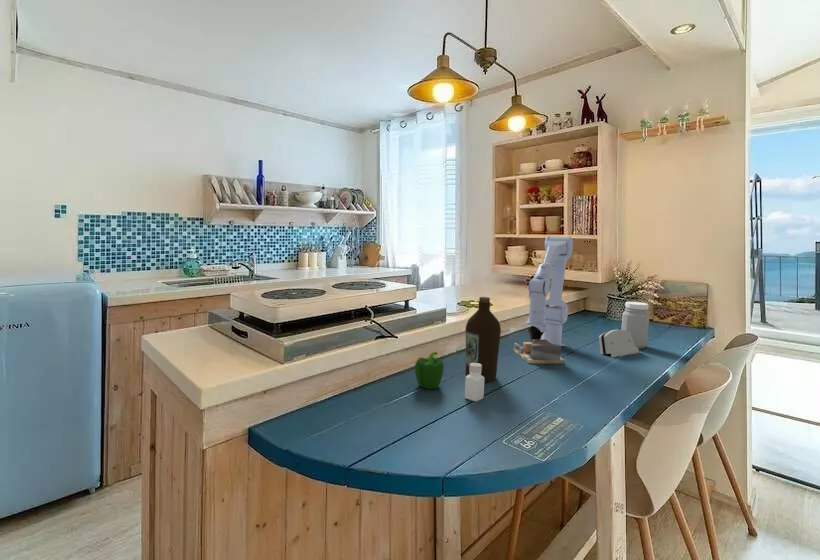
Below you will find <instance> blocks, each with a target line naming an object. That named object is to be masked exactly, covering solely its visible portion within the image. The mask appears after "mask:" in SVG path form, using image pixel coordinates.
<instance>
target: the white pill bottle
mask: <svg viewBox="0 0 820 560" xmlns="http://www.w3.org/2000/svg"><path fill="white" fill-rule="evenodd" d="M469 368H470V369H469V371H470V374H469V375H467V376H466V375H465V380H464V381H465V383H464V398H465V399H467V400H470V401H472V402H479V401H480V400H483V398H484V395H485V382H484V379H485V378H484V377H483V376H481V371H482V370H481V369H482V365H481V364H479V363H470V367H469Z"/></svg>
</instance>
